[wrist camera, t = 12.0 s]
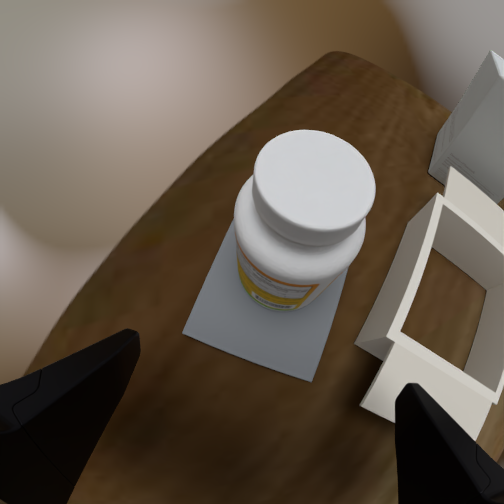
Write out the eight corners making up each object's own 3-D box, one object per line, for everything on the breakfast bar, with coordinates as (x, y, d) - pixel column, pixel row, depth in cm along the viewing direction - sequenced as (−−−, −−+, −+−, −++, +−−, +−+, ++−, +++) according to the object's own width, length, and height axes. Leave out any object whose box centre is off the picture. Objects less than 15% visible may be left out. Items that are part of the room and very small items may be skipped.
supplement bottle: (301, 217, 19) (340, 104, 10) (339, 290, 17) (423, 217, 8) (224, 246, 18) (207, 137, 9) (259, 327, 16) (276, 284, 7)
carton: (434, 444, 14) (473, 456, 10) (325, 392, 16) (351, 401, 11) (497, 255, 19) (528, 236, 15) (417, 192, 21) (444, 161, 17)
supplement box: (482, 218, 21) (567, 141, 9) (425, 173, 22) (498, 71, 10) (486, 172, 23) (549, 100, 11) (436, 132, 24) (489, 46, 12)
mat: (309, 381, 16) (311, 382, 15) (184, 334, 17) (182, 332, 16) (359, 214, 20) (361, 210, 19) (255, 176, 21) (256, 171, 20)
